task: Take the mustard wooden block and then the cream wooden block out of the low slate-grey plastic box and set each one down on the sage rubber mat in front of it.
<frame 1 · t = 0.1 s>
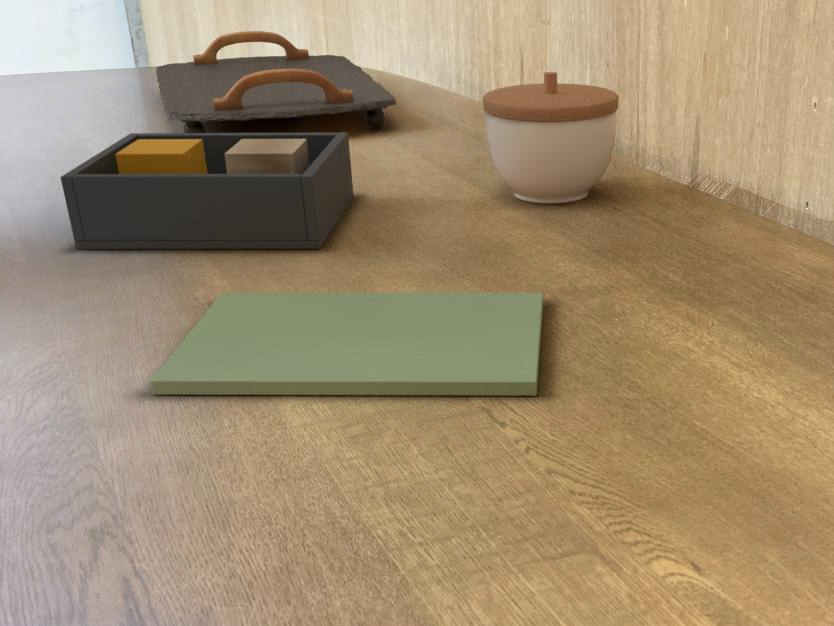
box: (224, 221, 88), on the table
lidded sugar bowl: (551, 196, 94), on the table
mustard block: (171, 213, 87), point 1 cm above the table, touching box
cream block: (275, 213, 87), point 1 cm above the table, touching box
serving tray: (271, 110, 127), on the table
mat: (365, 345, 65), on the table
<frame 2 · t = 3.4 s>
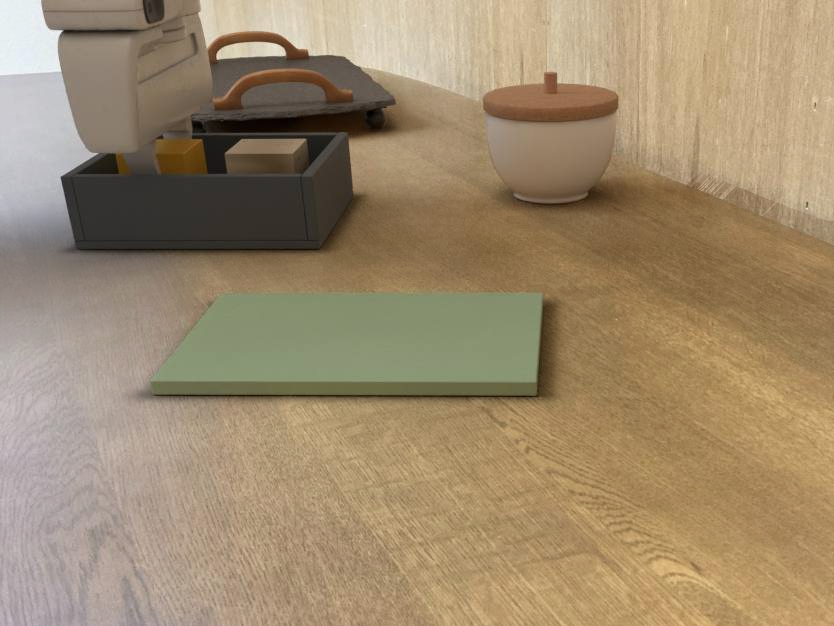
hand: (167, 189, 87), 2 cm above the table, tool pointing down, fingers closed on mustard block, 5 cm apart
mustard block: (171, 213, 87), point 1 cm above the table, touching box, gripper
everything else where it was.
when the fingers open (2 cm above the table, at t = 11.3 s): mustard block stays where it is, resting on mat.
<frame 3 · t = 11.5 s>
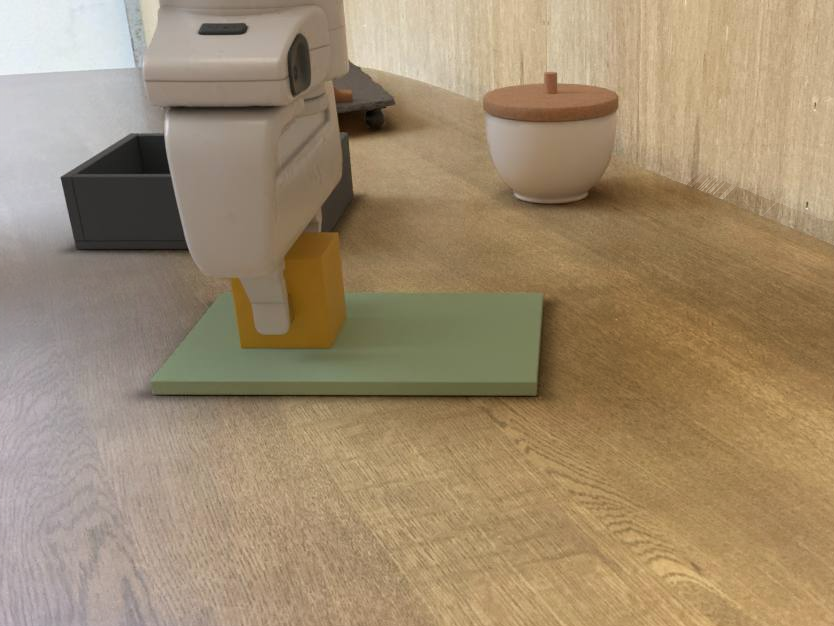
hand: (291, 306, 64), 2 cm above the table, tool pointing down, fingers open, 6 cm apart
mustard block: (295, 332, 65), point 1 cm above the table, touching mat
everything else where it was.
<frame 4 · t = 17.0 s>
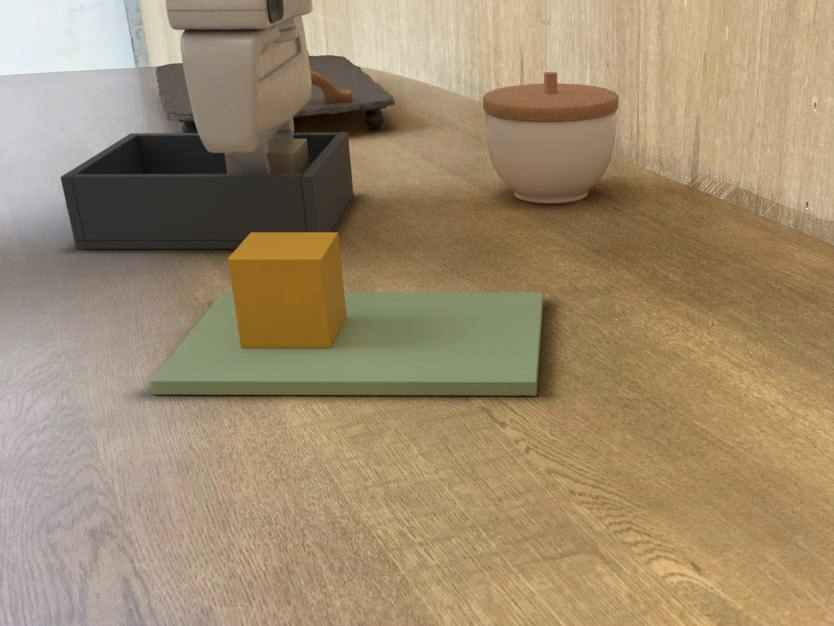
hand: (271, 189, 86), 2 cm above the table, tool pointing down, fingers closed on cream block, 5 cm apart
cream block: (275, 213, 87), point 1 cm above the table, touching box, gripper
everything else where it was.
when the fingers open (3 cm above the table, at t = 24.8 s): cream block stays where it is, resting on mat.
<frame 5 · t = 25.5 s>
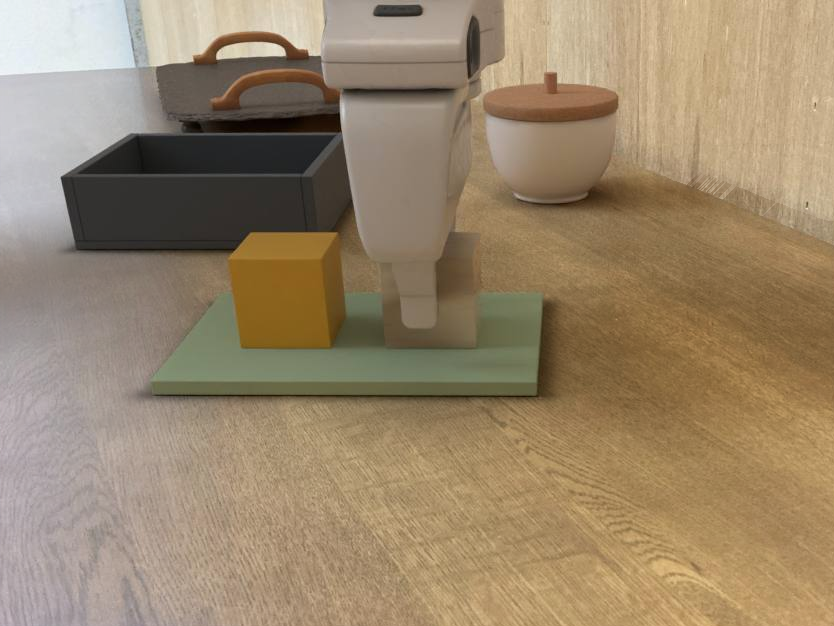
hand: (431, 294, 63), 3 cm above the table, tool pointing down, fingers open, 8 cm apart
cream block: (435, 332, 64), point 1 cm above the table, touching mat
everything else where it was.
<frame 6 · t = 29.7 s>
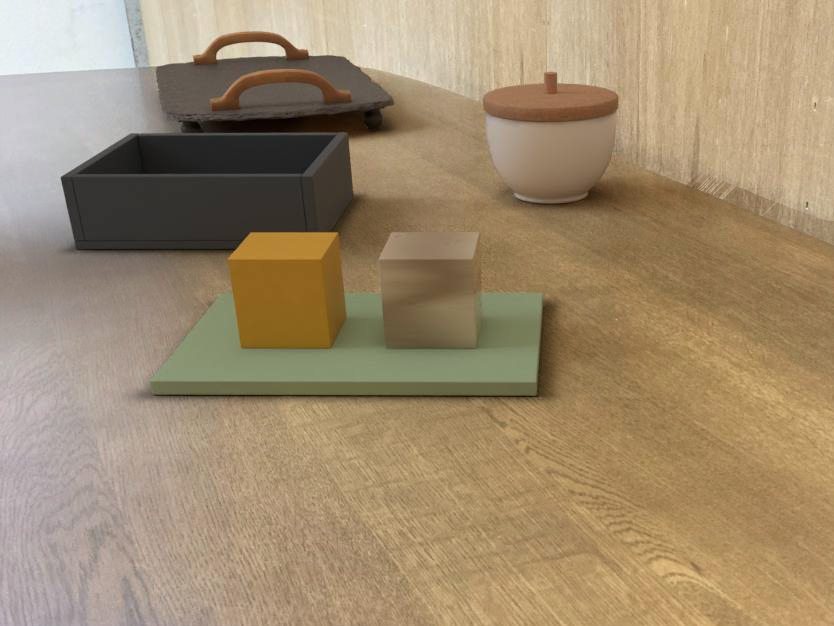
nothing on the table moved.
at the end: mustard block inside the target area on the mat (3.9 cm from its centre), point 0.8 cm above the mat's base; cream block inside the target area on the mat (4.1 cm from its centre), point 0.8 cm above the mat's base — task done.
